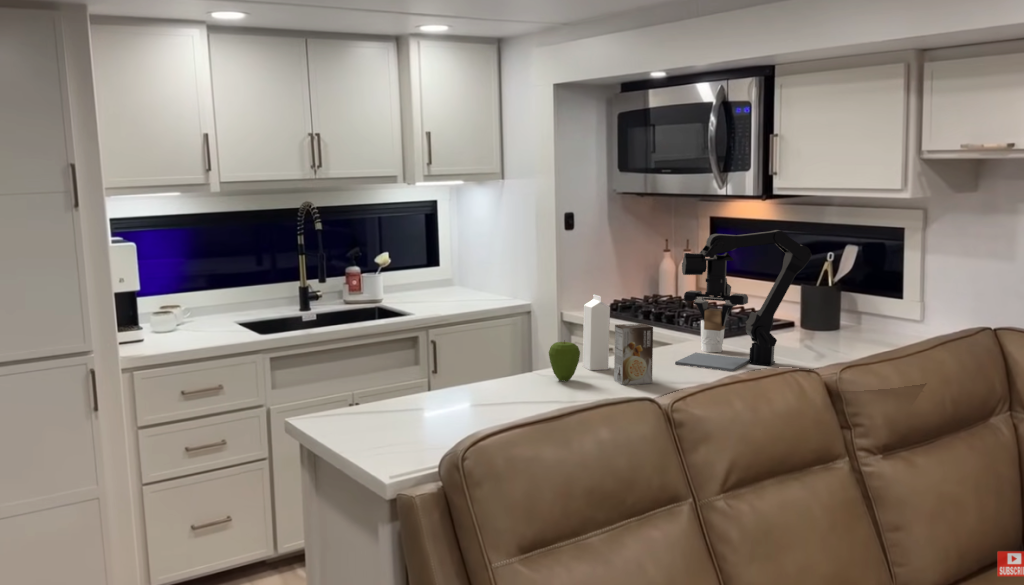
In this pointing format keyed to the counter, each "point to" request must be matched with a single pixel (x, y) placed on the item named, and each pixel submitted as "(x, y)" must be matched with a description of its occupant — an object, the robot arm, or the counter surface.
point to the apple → (564, 359)
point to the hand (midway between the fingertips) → (714, 325)
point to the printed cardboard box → (633, 354)
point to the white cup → (711, 339)
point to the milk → (596, 334)
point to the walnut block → (713, 320)
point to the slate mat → (713, 361)
